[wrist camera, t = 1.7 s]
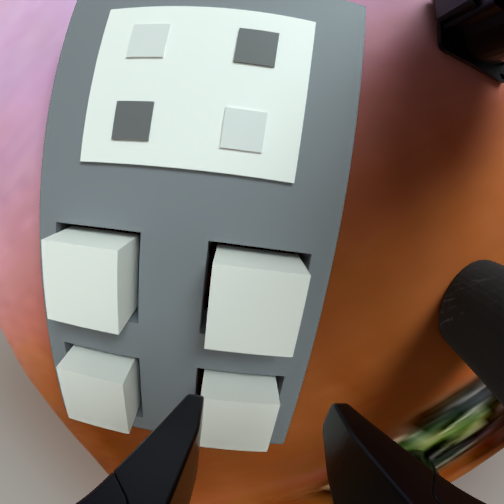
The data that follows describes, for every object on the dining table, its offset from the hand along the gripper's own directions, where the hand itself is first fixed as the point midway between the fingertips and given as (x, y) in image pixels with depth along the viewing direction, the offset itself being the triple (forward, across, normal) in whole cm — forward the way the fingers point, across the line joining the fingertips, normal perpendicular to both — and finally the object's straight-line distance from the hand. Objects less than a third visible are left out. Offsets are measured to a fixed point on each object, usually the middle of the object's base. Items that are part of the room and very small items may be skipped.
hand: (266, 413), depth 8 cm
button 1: (+9, +8, 0) cm, 12 cm away
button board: (+11, +4, -2) cm, 12 cm away
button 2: (+9, +8, +7) cm, 14 cm away
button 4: (+9, 0, +7) cm, 12 cm away
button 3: (+9, 0, 0) cm, 9 cm away
